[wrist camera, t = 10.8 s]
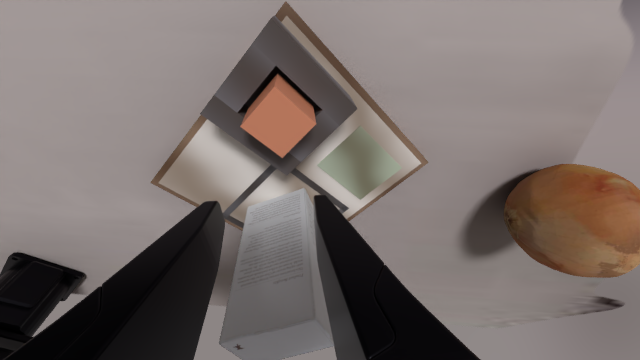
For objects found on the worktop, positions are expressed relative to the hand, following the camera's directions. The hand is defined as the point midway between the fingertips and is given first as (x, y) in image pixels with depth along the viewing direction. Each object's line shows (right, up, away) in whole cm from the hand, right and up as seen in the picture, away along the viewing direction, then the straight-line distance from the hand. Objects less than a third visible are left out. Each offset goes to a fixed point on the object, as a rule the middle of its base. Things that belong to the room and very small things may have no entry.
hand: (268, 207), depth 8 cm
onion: (+24, 0, +19) cm, 31 cm away
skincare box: (-2, -2, +16) cm, 17 cm away
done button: (-1, +6, +8) cm, 10 cm away
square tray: (-1, +2, +14) cm, 15 cm away
